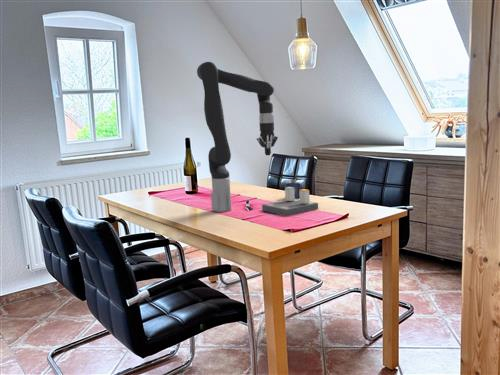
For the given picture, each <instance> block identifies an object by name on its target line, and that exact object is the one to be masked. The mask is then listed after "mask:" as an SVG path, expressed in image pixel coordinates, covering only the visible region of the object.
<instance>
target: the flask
mask: <svg viewBox="0 0 500 375" xmlns="http://www.w3.org/2000/svg"><path fill="white" fill-rule="evenodd" d="M286 187H293V188H294V194H295V199H298V200H300V195H299V190H301V183H300V182H298V181H295V179H291V180H290V181H289V182H284V189H285V188H286Z"/></svg>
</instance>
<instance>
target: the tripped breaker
mask: <svg viewBox="0 0 500 375" xmlns="http://www.w3.org/2000/svg"><path fill="white" fill-rule="evenodd" d="M299 195H300V199H299V200H300V203H304V204H306V203H310V202H311V201H310V190H309V189H305V188H302V189H301V188H300V190H299Z"/></svg>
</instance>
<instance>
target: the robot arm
mask: <svg viewBox="0 0 500 375" xmlns="http://www.w3.org/2000/svg"><path fill="white" fill-rule="evenodd" d="M196 74H197V77H198V78H199V79H200V80H201V81H202V82H201V83H202V85H203V90H204V91H203V92H204V100H203V101H204V102H203V110H204V119H205V122H206V125H207V128H208V129H209V132H210V133H211V135H212V138H213V142H214V146H212V147H211V148H210V150H209V152H208V158H207V159H208V167H209V172H210V175H211V176H210V177H211V190H212V192H211V193H210V200H211V211H212V212H216V213H225V212H230V211H231V210H232V200H231V199H232V198H231V196H232V195H231V180H230V179H231V178H230V172H229V171H228V169H227V168H226V165H228V164H229V162H230V161H231V158H232V157H231V156H232V153H231V149H230V148H231V147H230V146H229V145H230V144H229V140H228V137H227V136H228V135H227V129H226V124H225V116H224V108H223V103H222V98H221V94H220V93H221V92H220V88H219V87H220V86H219V84H222V85H226V86H229V87H232V88H235V89H238V90H241V91H245V92H248V93H253V94H256V95H257V100H258V101H257V102H258V107H259V108H258V109H259V110H258V111H259V114H258V115H259V116H258V121H259V131H260V135H259V137H257V138H256V140H257V142H258V144H259V145H260V147H261V148H264V154H265V156H271V153H272V152H271V151H272V149H271V148H272V147H274V146H275V144H276V142H277V140H278V139H279V138H278V136H276V135H275V132H274V131H275V121H274V120H275V117H274V112H273V111H274V109H273V108H274V106H273V102H272V101H271V96H272V95H273V94H274V92H275V88H274V86H273V84H271V83H270V82H268V81H263V80H259V79H254V78H252V77H249V76H245V75H242V74H238V73H232V72H228V71H225V70H222V69H219V68H218V67H217V65H216V64H215V63H214V62H212V61H205V62H202V63H200V64H199V66H198V67H197V68H196Z"/></svg>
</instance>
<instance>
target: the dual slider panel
mask: <svg viewBox="0 0 500 375" xmlns="http://www.w3.org/2000/svg"><path fill="white" fill-rule="evenodd" d="M261 207H262V208H261V210H262V211H263V212H264V211H265V212H268V213H273V214H278V215H281V216H286V217H287V216H288V217H289V216H293V215H297V214H301V213H306V211H307V212H310V211H309V210H311V211H314V209H315V210H319V202H315V201H314V202H313V201H310V203H306V204H304V203H300V199H296V198H295V200H293V201H288V200H285V199H284V200H279V201H274V202H269V203H264V204H262V205H261Z"/></svg>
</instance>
